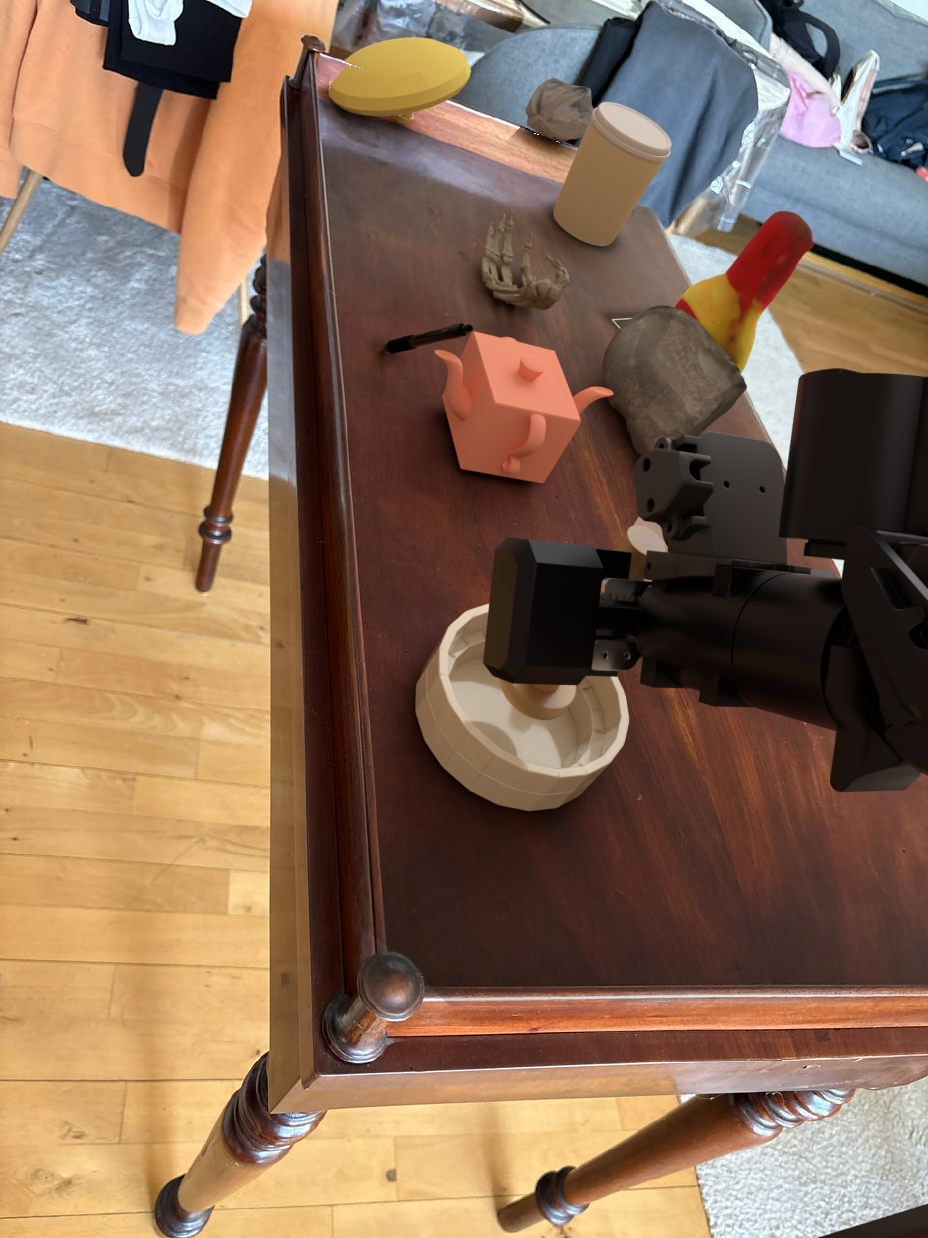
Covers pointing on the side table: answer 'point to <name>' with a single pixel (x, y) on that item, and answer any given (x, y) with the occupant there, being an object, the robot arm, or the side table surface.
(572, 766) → the bowl
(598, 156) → the coffee cup
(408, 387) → the side table surface
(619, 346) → the stone
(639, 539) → the tan post
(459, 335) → the pen
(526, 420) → the teapot
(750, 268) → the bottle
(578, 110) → the fossil
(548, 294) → the skeletal hand
